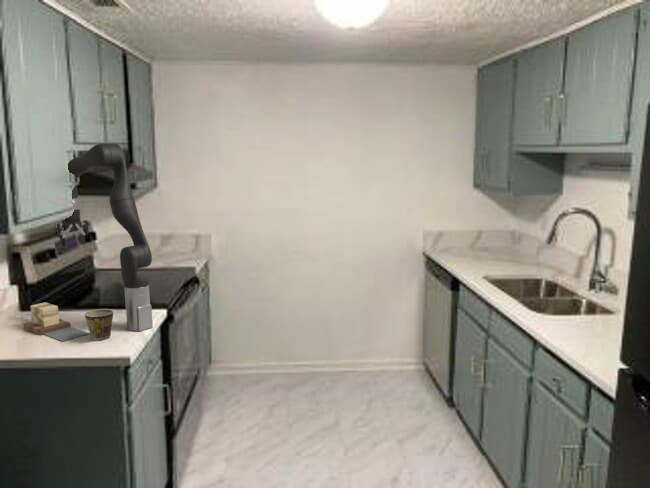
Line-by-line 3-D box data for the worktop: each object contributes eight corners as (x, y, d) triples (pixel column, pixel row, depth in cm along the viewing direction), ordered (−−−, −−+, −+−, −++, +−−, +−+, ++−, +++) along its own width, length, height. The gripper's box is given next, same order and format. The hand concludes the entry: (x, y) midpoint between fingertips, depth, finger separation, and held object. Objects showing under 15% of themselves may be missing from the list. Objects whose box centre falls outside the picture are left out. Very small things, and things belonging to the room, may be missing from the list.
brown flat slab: (70, 327, 222) (70, 322, 222) (40, 335, 213) (40, 330, 212) (53, 321, 230) (52, 316, 230) (23, 328, 221) (23, 323, 221)
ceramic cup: (89, 334, 213) (87, 309, 211) (116, 332, 215) (114, 307, 213) (83, 346, 200) (80, 319, 199) (112, 343, 203) (110, 317, 201)
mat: (89, 333, 214) (89, 333, 214) (62, 341, 205) (62, 341, 205) (70, 327, 222) (70, 326, 222) (43, 334, 213) (43, 333, 213)
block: (59, 323, 221) (57, 306, 220) (44, 326, 216) (42, 309, 215) (46, 318, 227) (45, 302, 226) (32, 322, 222) (30, 305, 221)
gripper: (58, 210, 232) (62, 248, 235) (90, 207, 243) (93, 243, 246) (49, 209, 237) (53, 246, 239) (80, 206, 248) (83, 242, 251)
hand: (73, 245), depth 243 cm, fingers open, 8 cm apart
